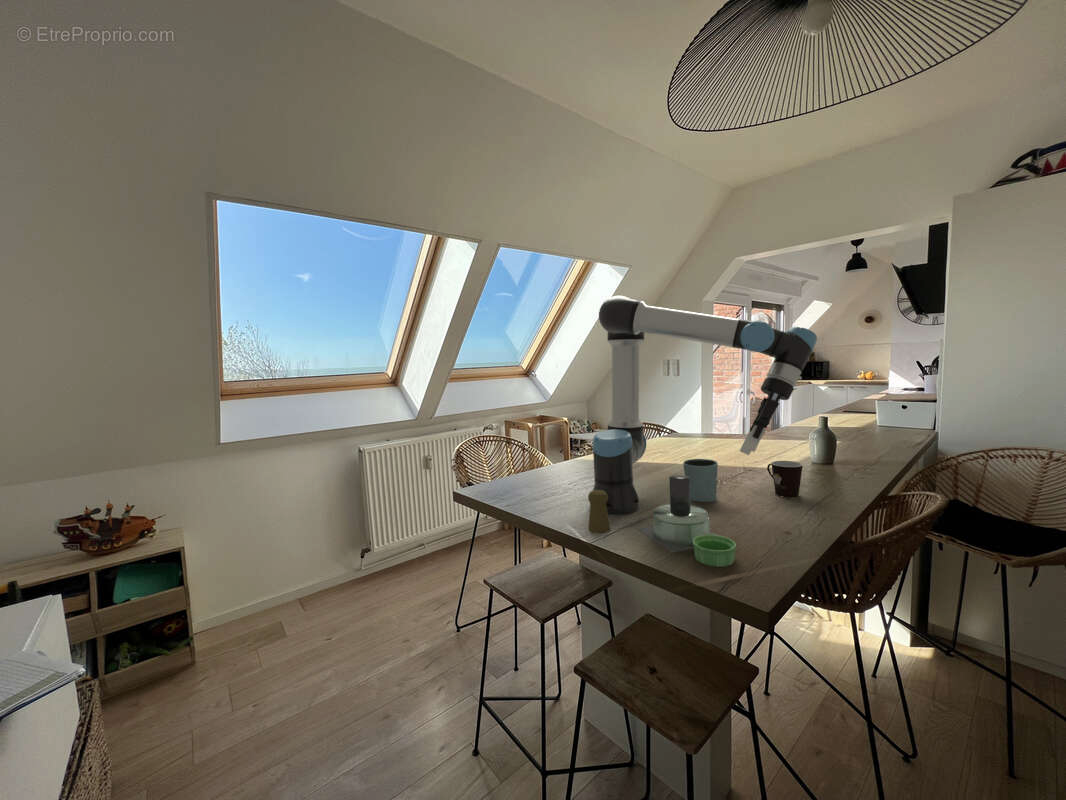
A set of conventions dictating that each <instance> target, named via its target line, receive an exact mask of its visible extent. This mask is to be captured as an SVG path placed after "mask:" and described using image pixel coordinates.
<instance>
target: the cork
mask: <svg viewBox="0 0 1066 800" xmlns="http://www.w3.org/2000/svg"><path fill="white" fill-rule="evenodd" d="M587 498H588V499H587V500H588V502H589V517H588V528H587V529H588V531H589V532H591V533H595V534H605V533H608V532H610V531H611V526H610V525H611V524H610V519H609V514H608V513H607V507H606V502H607V501H608V496H607V493H606V492H605V491H603V490H593V489H592V491H590V492H589V493H588V495H587ZM590 503H591V504H590Z"/></svg>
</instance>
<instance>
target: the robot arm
mask: <svg viewBox="0 0 1066 800" xmlns="http://www.w3.org/2000/svg"><path fill="white" fill-rule="evenodd" d="M598 311H599V312H598V320H599V323H600V325H601V326H602V328H603V329H604V330H605V332H607V343H608V344H609V345H611V347H612V351H611V353H612V354H611V355H612V356H611V361H612V362H611V364H612V365H611V367H612V370H611V372H612V373H611V376H612V377H611V383H612V384H611V386H612V387H611V392H612V394H611V395H612V396H611V397H612V398H611V407H612V408H611V420H610V421H608V423H607V429H606V430H603V431H602V430H601V431H599V432H597V433H596V434H595V435H594V436H593V438H592V442H593V443H592V455H593V456H592V457H593V471H594V472H593V473H594V483H593V484H594V485H593V488H592V491H593V490H603V491H605V492H606V493H607V496H608V501H607V502H606V507H607V513H608V516H609V515H610V516H612V515H613V516H614V515H615V516H618V515H619V516H620V515H628V514H632V513H635V512H637V511H639V510H640V509H641V502H640V498H639V496H638V492H637V490H636V487H635V484H634V469H633V468H634V467H633V465H634V464H635V463H637V462H638V461H639V460H640V459H641V458H643V456H644V454H645V451H646V449H647V439H646V436H645V434H644V423H643V422H642V421H641V420H640V416H639V415H640V414H639V413H640V412H639V411H640V405H639V403H640V345H641V344H642V343H644V341H645V334H652V335H657V336H663V337H669V338H676V339H680V340H687V341H691V342H692V341H694V342H700V343H704V344H705V343H706V344H709V345H710V344H711V345H717V346H722V347H723V346H724V347H728V348H735V349H740V350H745V351H748V352H749V351H750V352H752V353H753V352H754V353H759V354H762V355H766V356H769V357H770V358H774V360H773V362H772V364H771V366H770V368H769V370H768V371H767V373H766V376H767V377H766V378H764V381H763V382H762V385H761V387H760V391H761V392H762V393H763V394H766V395H767V397H763V399H762V401H761V402H760V406H759V408H758V410H757V414H756V417H755V418H754V420H753V422H752V424H751V426H750V427H749V430H748V433H747V435H746V437H745V439H744V441H743V443H742V444H741V447H740V448H739V452H740V453H743V454H745V455H747V456H750V454H751V452H753V453H755V452H756V450H757V448H758V446H759V444H760V442H761V439H762V437H763V435H764V433H765V431H766V428H767V427H768V425H769V424H770V421H771V419H772V417H773V415H774V414H775V412H776V409H777V408H778V407H779V405H780V403H779V401H780V400H782V401H788V400H789V399H790V397H791V396H792V394H793V392H794V389H795V386H796V384H797V383H798V381H801V380H802V379H803V378H802V376H801V375H802V373H803V370H804V369H805V367H806V364H807V363H808V361H809V358H810V357H811V355H812V353H813V351H814V348H815V345H816V343H817V341H818V340H817V339H818V336H817V335H816V333H815V332H814V331H812V330H810V329H808V328H805V327H799V326H791V327H790V328H789V329H788V330H787V331H783V330H779V329H777V328H774V327H772V326H771V325H770V324H769V323H768V322H766V321H762V320H749V319H741V318H734V317H727V316H721V315H714V314H707V313H699V312H693V311H688V310H687V311H686V310H679V309H672V308H666V307H659V306H653V305H652V306H651V305H647V304H646V303H645V302H644V301H642V300H636V299H635V298H634V299H633V298H629V297H627V296H624V295H614V296H611V297H608V298H607V299H606V300H604V302H603V303H602V304H601V306H600V307H599V310H598ZM590 504H591V503H590V502H589V505H590Z"/></svg>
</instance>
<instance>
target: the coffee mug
mask: <svg viewBox="0 0 1066 800" xmlns="http://www.w3.org/2000/svg"><path fill="white" fill-rule="evenodd" d="M803 465H804V464H803V463H802V462H798V461H793V460H774V461H771V462H770V463H768V464H767V469H766V470H767V472H768V474H769V476H770V477H771V478H772V480H773V487H774V492H775V495H776V494H777V495H779V496H778V497H780V496H783V497H782V498H786V497H795V498H798V497H799V496H800V486H801V480H802V473H803ZM770 468H771V470H770ZM771 471H772V472H771ZM777 495H776V496H777ZM798 495H799V496H798ZM797 496H798V497H797Z"/></svg>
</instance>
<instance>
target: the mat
mask: <svg viewBox="0 0 1066 800" xmlns="http://www.w3.org/2000/svg"><path fill="white" fill-rule="evenodd" d="M636 530H637V531H639V532H640V533H642V534H644V535H645V536H646V537H647V538H649V539H651V540H652V541H653V542H655V543H656V544H657V545H659V546H661V548H664V549H665V550H667V552H669V553H672V554H673V553H677V552H683V551H688V550H694V546H681V545H673V544H669V543H665V542H661V541H660V540H659V539H657V538H656V537H654V525H652V526H645V527H639V528H636ZM709 534H710V535H717V534H716V533H714V532H712V531H710V530H709Z"/></svg>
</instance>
